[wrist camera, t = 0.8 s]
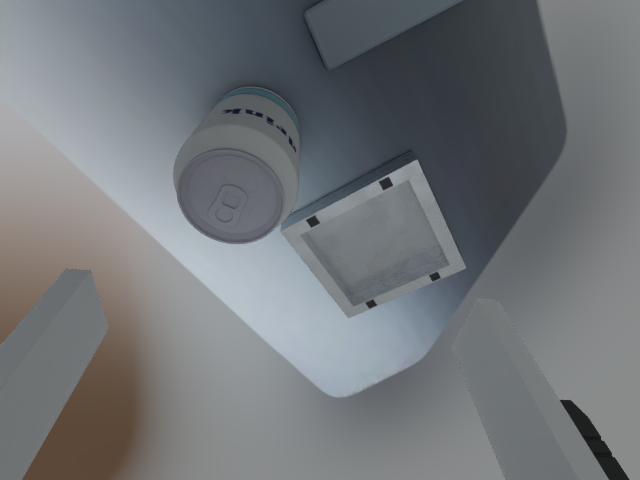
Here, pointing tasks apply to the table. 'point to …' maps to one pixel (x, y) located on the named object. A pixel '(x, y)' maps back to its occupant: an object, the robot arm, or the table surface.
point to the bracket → (364, 24)
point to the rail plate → (375, 237)
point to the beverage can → (240, 167)
